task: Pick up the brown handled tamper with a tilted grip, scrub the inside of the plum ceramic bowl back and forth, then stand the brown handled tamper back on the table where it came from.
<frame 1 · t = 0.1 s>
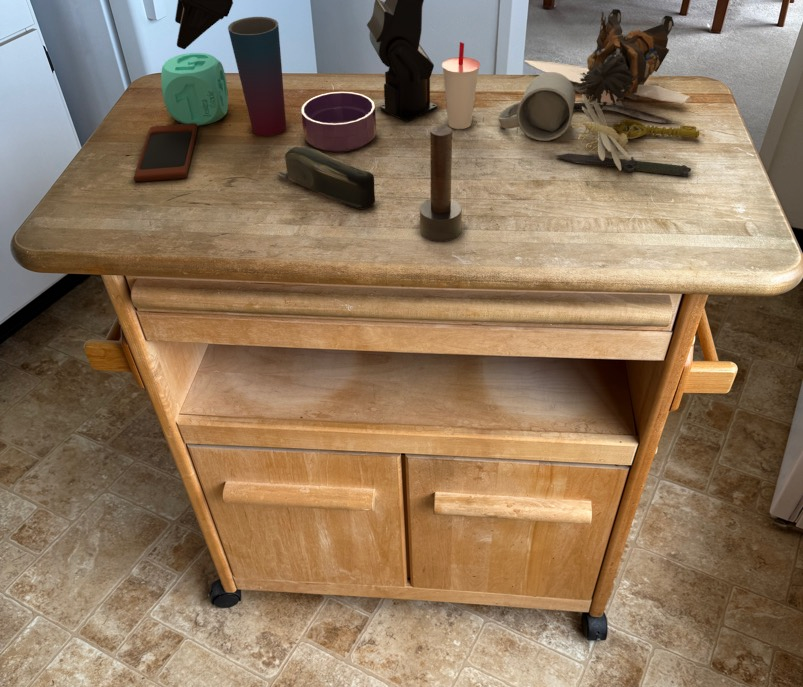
hand: (179, 34, 101), 15 cm above the table, tool tilted 35°, fingers open, 9 cm apart
knife: (600, 83, 119), point 1 cm above the table, touching figurine, key chain
cup 2: (459, 125, 112), on the table
knife 2: (622, 156, 102), point 1 cm above the table
smartphone: (174, 126, 113), on the table
knife 3: (608, 120, 111), on the table
toy: (592, 152, 105), on the table
key chain: (613, 89, 117), point 1 cm above the table, touching knife
cup: (269, 129, 113), on the table
bowl: (340, 136, 110), on the table
figurine: (636, 39, 122), point 5 cm above the table, touching knife
brown handled tamper: (440, 229, 92), on the table
key: (653, 137, 107), on the table
dark green rounded bar: (326, 193, 99), on the table
decorative dice: (201, 115, 117), on the table
ceramic mug: (535, 130, 110), on the table
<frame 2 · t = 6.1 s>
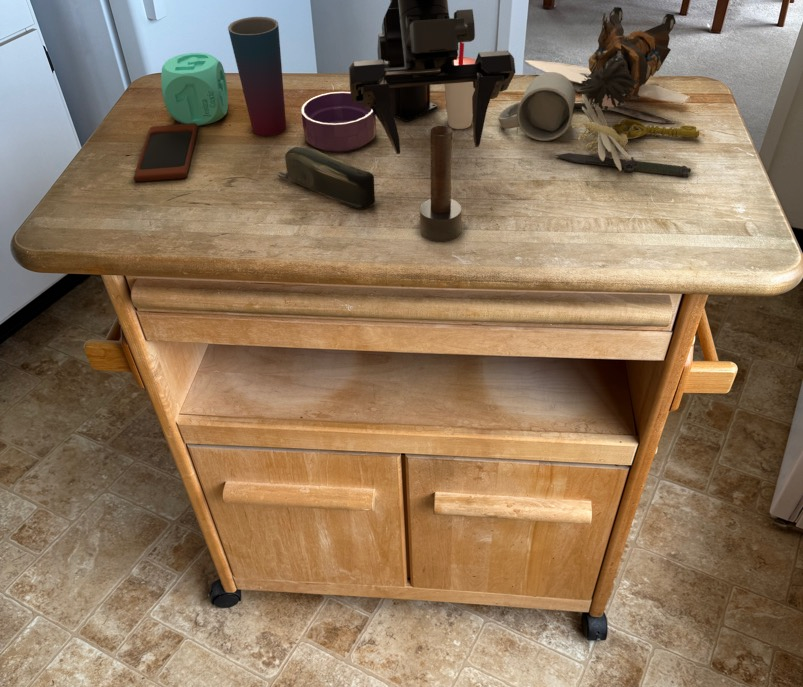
hand: (438, 149, 87), 9 cm above the table, tool tilted 45°, fingers open, 9 cm apart
toy: (592, 152, 105), on the table, touching figurine
figurine: (637, 37, 121), point 5 cm above the table, touching knife, toy
everything else where it was.
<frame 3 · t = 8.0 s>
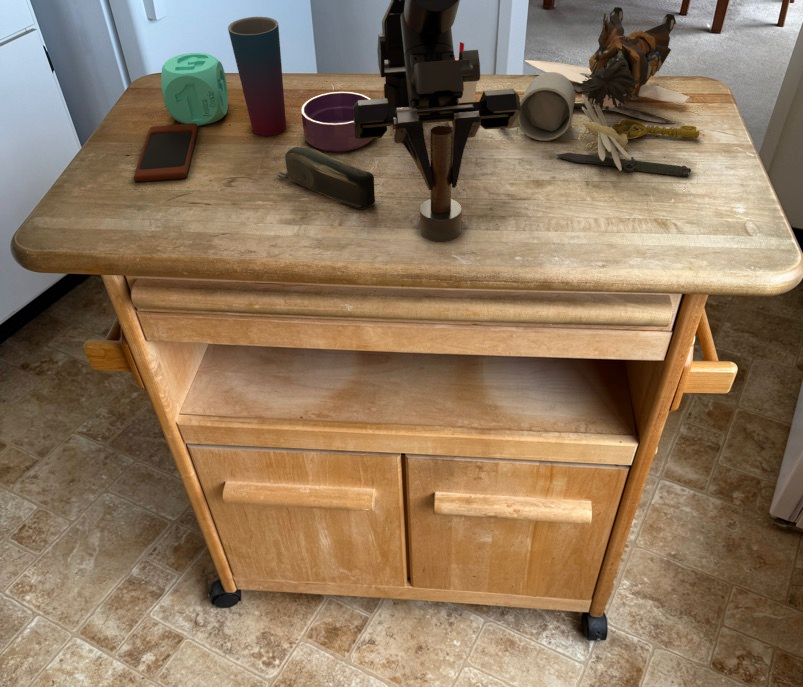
hand: (442, 188, 86), 7 cm above the table, tool tilted 45°, fingers closed on brown handled tamper, 2 cm apart
toy: (592, 152, 104), on the table
figurine: (638, 37, 121), point 5 cm above the table, touching knife
brown handled tamper: (440, 229, 92), on the table, touching gripper
everything else where it was.
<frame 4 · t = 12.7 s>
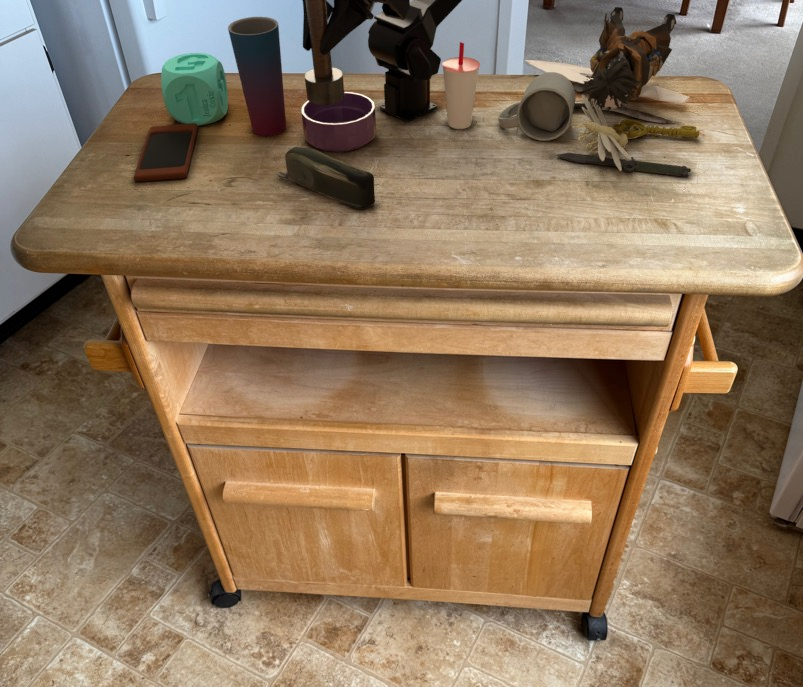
hand: (313, 51, 96), 15 cm above the table, tool tilted 45°, fingers closed on brown handled tamper, 2 cm apart
knife 2: (622, 156, 102), point 1 cm above the table, touching toy
toy: (593, 152, 104), on the table, touching knife 2
figurine: (638, 37, 121), point 5 cm above the table, touching knife
brown handled tamper: (326, 96, 101), point 8 cm above the table, touching gripper
everything else where it was.
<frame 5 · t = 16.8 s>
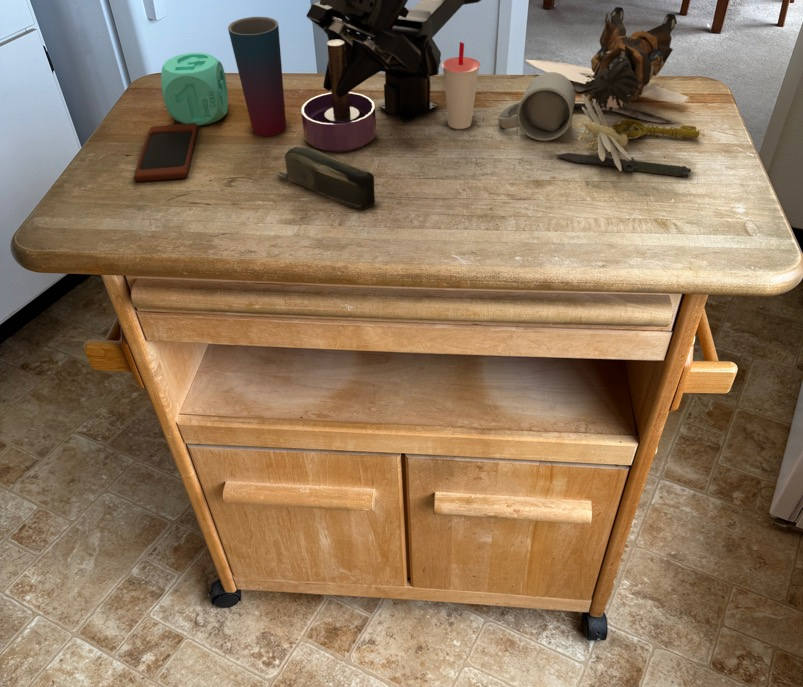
hand: (331, 92, 104), 7 cm above the table, tool tilted 45°, fingers closed on brown handled tamper, 2 cm apart
knife 2: (622, 156, 102), point 1 cm above the table
toy: (593, 152, 104), on the table, touching figurine
figurine: (638, 37, 121), point 5 cm above the table, touching knife, toy
brown handled tamper: (343, 133, 109), point 1 cm above the table, touching gripper
everything else where it was.
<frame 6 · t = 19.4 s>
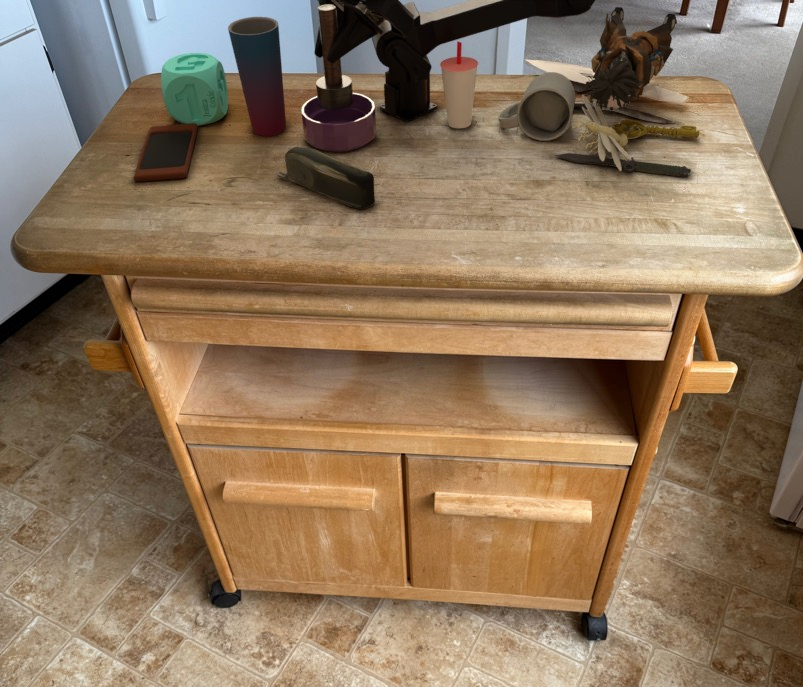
hand: (323, 58, 102), 12 cm above the table, tool tilted 45°, fingers closed on brown handled tamper, 2 cm apart
toy: (593, 152, 104), on the table
figurine: (639, 37, 121), point 5 cm above the table, touching knife
brown handled tamper: (335, 102, 107), point 5 cm above the table, touching gripper
everything else where it was.
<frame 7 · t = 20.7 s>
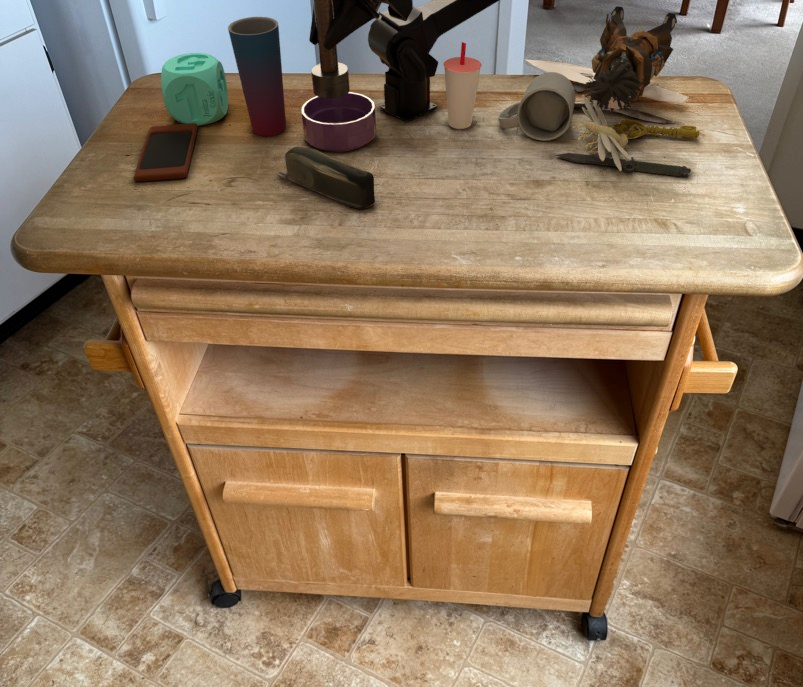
hand: (319, 45, 99), 14 cm above the table, tool tilted 45°, fingers closed on brown handled tamper, 2 cm apart
toy: (593, 152, 104), on the table, touching figurine
figurine: (639, 36, 121), point 5 cm above the table, touching knife, toy
brown handled tamper: (331, 90, 104), point 8 cm above the table, touching gripper
everything else where it was.
when the fingers open (7 cm above the table, at t = 26.7 s): brown handled tamper stays where it is, on the table.
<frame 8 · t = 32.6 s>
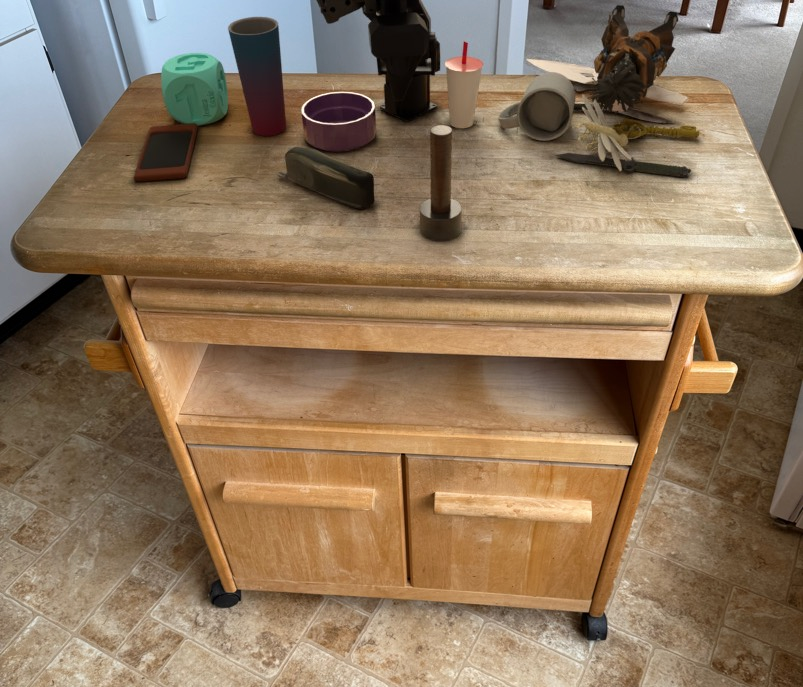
hand: (393, 83, 92), 13 cm above the table, tool pointing down, fingers open, 9 cm apart
knife 2: (622, 156, 102), point 1 cm above the table, touching toy
toy: (593, 152, 104), on the table, touching knife 2
figurine: (640, 34, 121), point 6 cm above the table, touching knife
brown handled tamper: (440, 229, 92), on the table
everything else where it was.
at the end: brown handled tamper 0.1 cm from the target spot, on the table; brown handled tamper tilted 0°; bowl moved 0.0 cm from its start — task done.
